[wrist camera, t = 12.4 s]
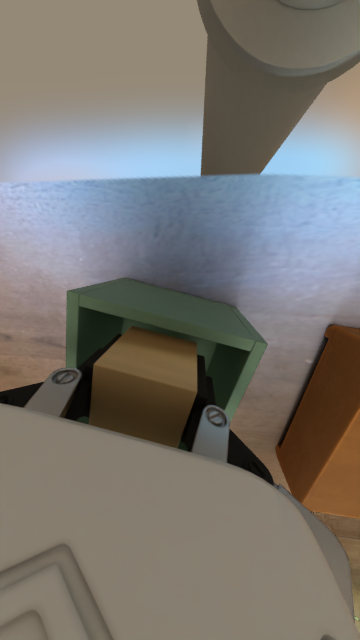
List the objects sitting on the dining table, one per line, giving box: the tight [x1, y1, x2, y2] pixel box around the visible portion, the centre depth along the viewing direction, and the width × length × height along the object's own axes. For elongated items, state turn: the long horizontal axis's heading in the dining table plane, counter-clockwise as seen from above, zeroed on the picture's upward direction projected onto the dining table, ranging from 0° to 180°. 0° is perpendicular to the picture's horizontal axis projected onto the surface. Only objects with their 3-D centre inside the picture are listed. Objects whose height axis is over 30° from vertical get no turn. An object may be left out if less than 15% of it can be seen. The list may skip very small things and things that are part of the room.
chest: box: [66, 278, 268, 451], centre depth 17 cm, size 16×13×9 cm
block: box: [89, 326, 197, 448], centre depth 10 cm, size 5×5×5 cm
